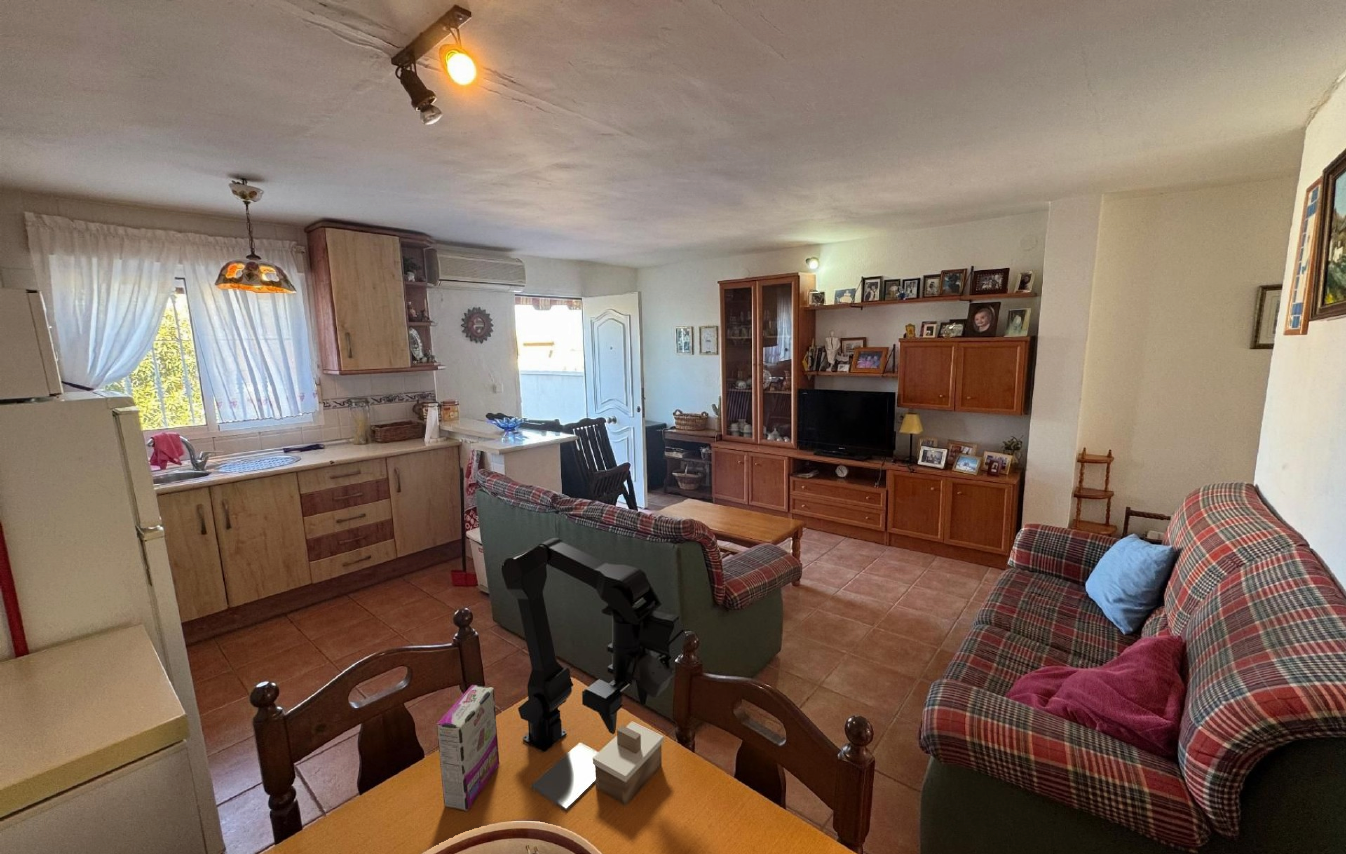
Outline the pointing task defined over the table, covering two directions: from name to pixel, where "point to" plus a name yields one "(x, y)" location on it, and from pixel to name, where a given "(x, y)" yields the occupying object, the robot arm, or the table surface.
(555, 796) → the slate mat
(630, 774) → the lid
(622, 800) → the box
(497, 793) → the table surface
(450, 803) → the candy bar box
